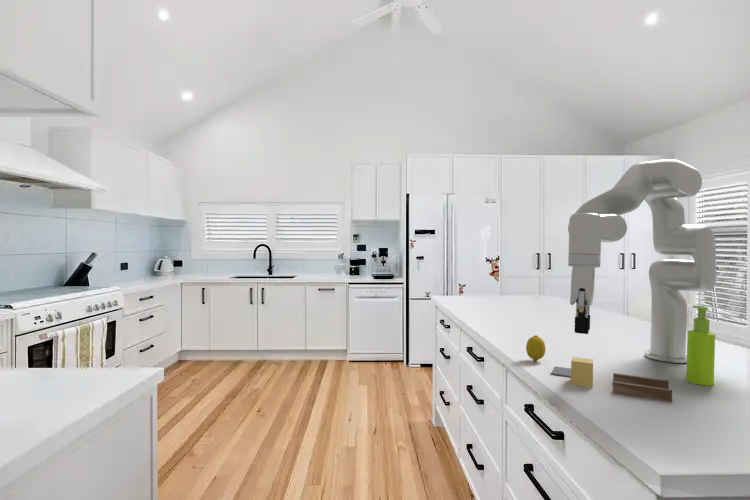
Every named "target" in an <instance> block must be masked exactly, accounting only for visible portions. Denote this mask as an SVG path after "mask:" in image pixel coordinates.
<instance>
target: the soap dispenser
mask: <svg viewBox="0 0 750 500" xmlns="http://www.w3.org/2000/svg"><path fill="white" fill-rule="evenodd" d="M692 308H693V309H697V317H695V318H693V330H687V335H686V355H687V363H686V371H685V372H686V375H685V376H686V377H685V378H686V379H685V380H686V382H688V383H690V384H693V385H699V386H708V387H709V386H714V385H715V383H714V382H715V358H716V357H715V354H716V351H715V349H716V334H715V333H714V332H711V331H710V320H709V319H708V318H707V317H706V316H707V314H706V313H707V311H709V307H707V306H705V305H692Z"/></svg>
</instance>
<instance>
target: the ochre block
mask: <svg viewBox="0 0 750 500" xmlns="http://www.w3.org/2000/svg"><path fill="white" fill-rule="evenodd" d="M570 362H571V365H570V368H571V377H570V385H574V386H580V387H587V386H588V387H589V388H593V382H594V380H593V379H594V358H586V357H578V356H572V357H571V361H570Z"/></svg>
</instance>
